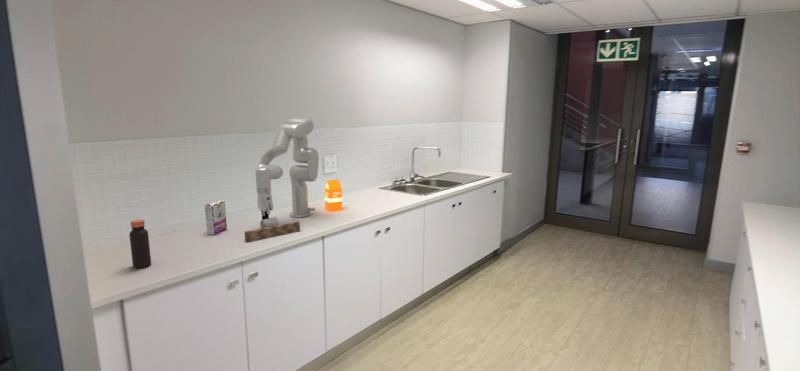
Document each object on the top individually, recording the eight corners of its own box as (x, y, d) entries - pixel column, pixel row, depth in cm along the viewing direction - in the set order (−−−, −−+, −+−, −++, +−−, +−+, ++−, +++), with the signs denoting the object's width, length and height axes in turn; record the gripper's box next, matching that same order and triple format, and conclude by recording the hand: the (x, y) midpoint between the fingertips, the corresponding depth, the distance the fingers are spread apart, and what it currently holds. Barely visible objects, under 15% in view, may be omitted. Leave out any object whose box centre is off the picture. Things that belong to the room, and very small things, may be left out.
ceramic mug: (259, 231, 236) (259, 217, 235) (274, 228, 241) (273, 215, 239) (266, 236, 228) (266, 222, 226) (281, 233, 233) (281, 220, 231)
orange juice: (342, 210, 285) (341, 180, 281) (330, 211, 280) (329, 181, 276) (336, 207, 291) (336, 178, 287) (324, 209, 286) (324, 179, 282)
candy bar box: (219, 228, 240) (217, 200, 237) (227, 229, 239) (225, 200, 236) (206, 234, 229) (204, 204, 226) (214, 235, 228) (212, 205, 225)
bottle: (142, 262, 189) (138, 218, 186) (155, 264, 188) (150, 219, 184) (129, 267, 183) (123, 222, 179) (141, 269, 181) (136, 223, 177)
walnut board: (297, 229, 240) (297, 221, 239) (300, 230, 238) (299, 222, 237) (245, 241, 220) (244, 231, 219) (247, 242, 218) (246, 232, 217)
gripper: (276, 191, 232) (278, 224, 236) (264, 187, 243) (266, 218, 247) (263, 193, 227) (265, 226, 231) (251, 188, 238) (253, 220, 242)
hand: (265, 222), depth 239 cm, fingers closed
